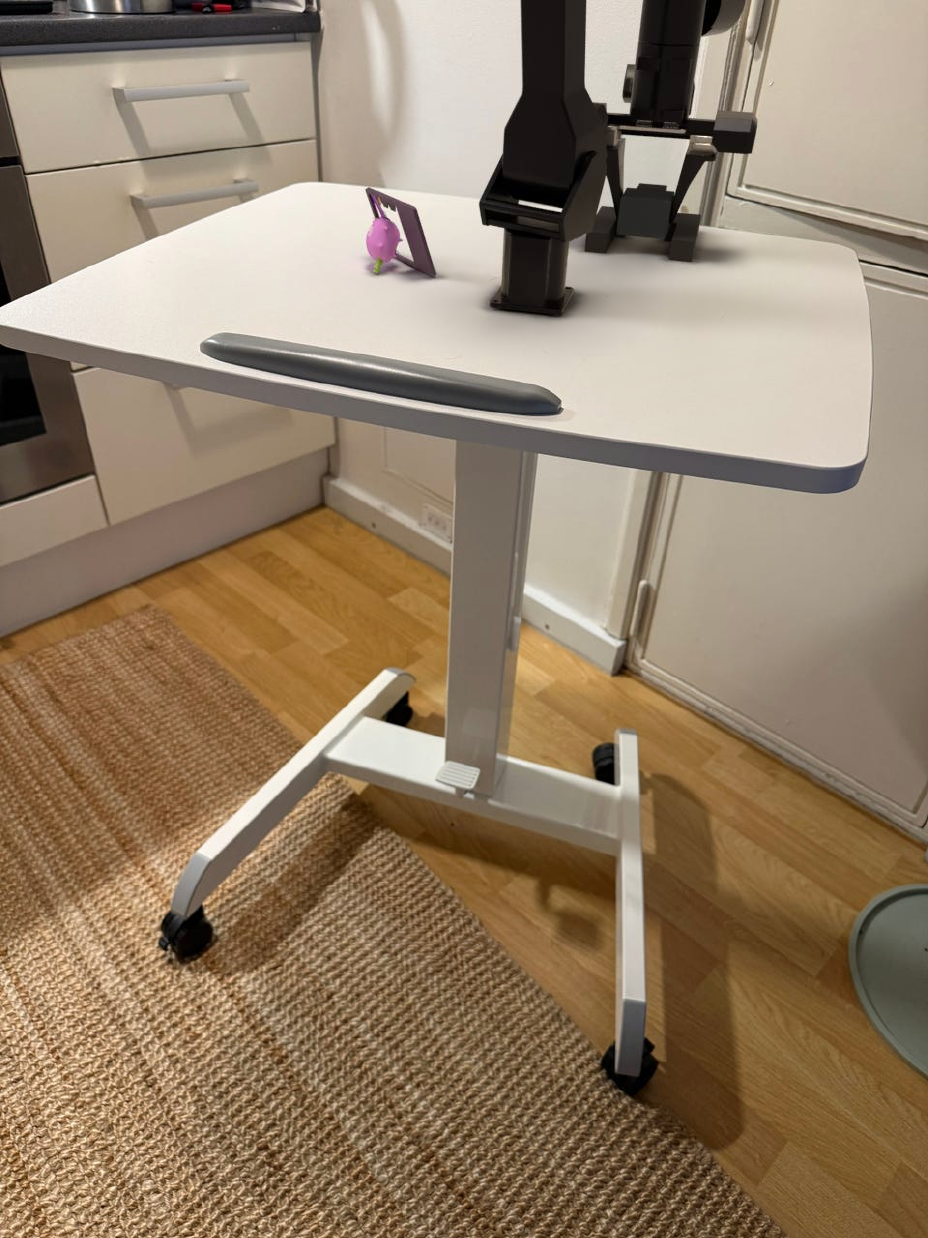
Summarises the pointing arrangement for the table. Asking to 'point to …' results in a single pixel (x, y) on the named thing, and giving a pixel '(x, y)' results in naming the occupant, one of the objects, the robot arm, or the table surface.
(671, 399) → the table surface
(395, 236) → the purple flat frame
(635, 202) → the pad piece
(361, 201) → the table surface
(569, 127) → the robot arm
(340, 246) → the table surface
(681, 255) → the base pad
